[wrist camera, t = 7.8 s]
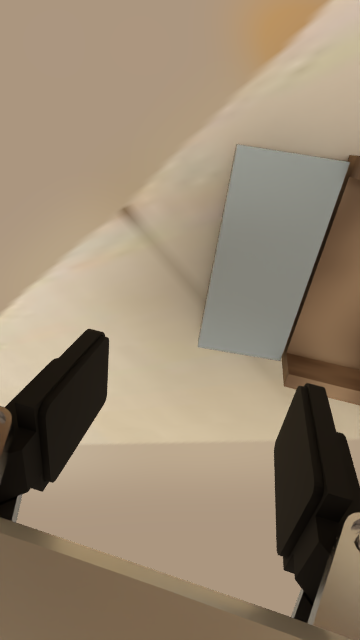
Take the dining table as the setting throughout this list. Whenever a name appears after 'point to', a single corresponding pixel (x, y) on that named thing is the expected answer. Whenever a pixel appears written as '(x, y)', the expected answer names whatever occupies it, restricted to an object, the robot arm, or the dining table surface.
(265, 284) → the grey flat panel
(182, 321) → the dining table surface
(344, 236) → the wooden tray
